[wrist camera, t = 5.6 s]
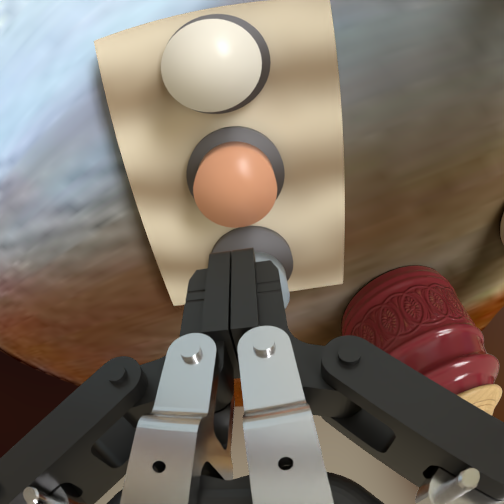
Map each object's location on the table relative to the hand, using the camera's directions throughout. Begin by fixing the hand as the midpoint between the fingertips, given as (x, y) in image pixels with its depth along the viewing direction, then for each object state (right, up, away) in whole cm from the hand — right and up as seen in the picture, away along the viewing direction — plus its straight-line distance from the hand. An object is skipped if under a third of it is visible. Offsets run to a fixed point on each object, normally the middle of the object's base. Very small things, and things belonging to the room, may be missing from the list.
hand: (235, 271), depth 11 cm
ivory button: (-1, +10, +3) cm, 11 cm away
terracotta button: (0, +5, +8) cm, 9 cm away
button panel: (-1, +7, +11) cm, 13 cm away
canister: (+16, -5, +21) cm, 27 cm away
